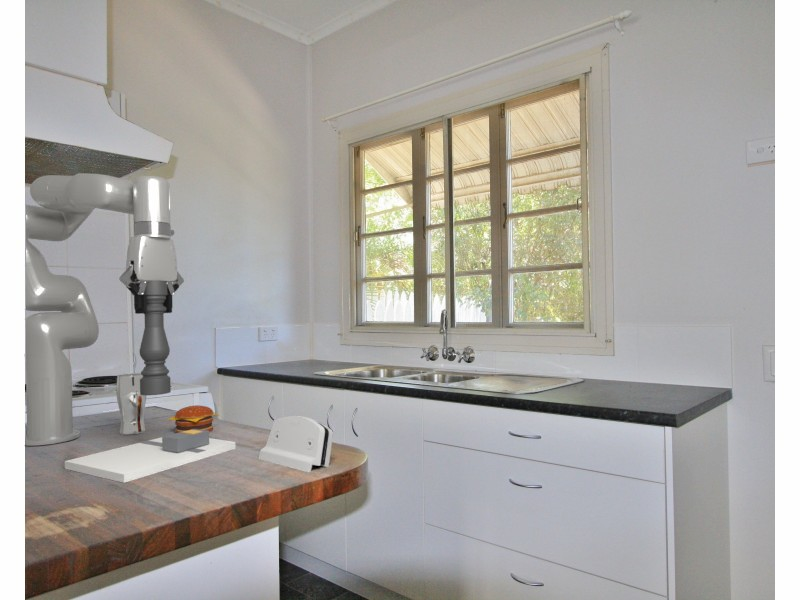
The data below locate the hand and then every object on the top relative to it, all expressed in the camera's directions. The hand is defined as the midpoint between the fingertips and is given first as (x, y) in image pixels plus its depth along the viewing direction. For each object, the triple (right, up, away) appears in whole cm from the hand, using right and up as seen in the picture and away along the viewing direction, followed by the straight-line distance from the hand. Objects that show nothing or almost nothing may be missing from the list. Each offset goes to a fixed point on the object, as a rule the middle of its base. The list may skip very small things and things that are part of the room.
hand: (153, 312), depth 120 cm
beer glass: (-14, -32, +19) cm, 40 cm away
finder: (+9, -29, -4) cm, 31 cm away
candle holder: (+1, -18, 0) cm, 18 cm away
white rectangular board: (+3, -31, -6) cm, 31 cm away
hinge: (+34, -30, -11) cm, 47 cm away
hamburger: (+2, -31, +19) cm, 37 cm away
